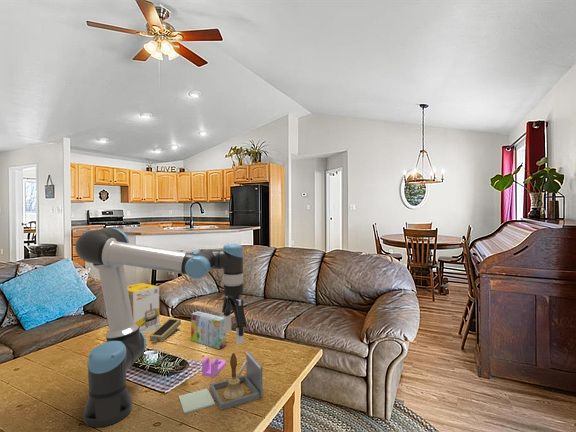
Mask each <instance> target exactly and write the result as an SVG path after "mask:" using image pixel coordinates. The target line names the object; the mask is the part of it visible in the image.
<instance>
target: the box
mask: <svg viewBox="0 0 576 432" xmlns="http://www.w3.org/2000/svg"><path fill="white" fill-rule="evenodd" d="M181 322H182V320H181V319H179V318H178V319H177V318H170V317H169V318H168V319H167V320H165V321H164V322H163V323H162V324H161V325H159V326H160V327H159V328H157V329H155V330H153V331H152V333H150V334H149V336H148V337H149V340H150V341H151V345H156V344H157V343H159V342H160V343H163V342H164V341H165V340H166V339H168V337H169V336H171V334H172V333H173V332H175V331H176V330H177V329H178V328H179V327H180V326H181V325H182V323H181Z"/></svg>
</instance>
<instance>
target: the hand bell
mask: <svg viewBox="0 0 576 432" xmlns="http://www.w3.org/2000/svg"><path fill="white" fill-rule="evenodd" d="M229 362H230V369H231V378H229V379H228V380H229V381H228V386H226V389H225V390H224V391H223V394H222V395H223V397H224V398H225V399H226V400H227V401H229V400H233V399H236V398H240V397H243V396H246V391H245V390H244V388H243V387H242V385H241V383H240V380H239V378H236V377H237V365H238V358H237V356H236V353H234V352H233V353H231V356H230V359H229Z"/></svg>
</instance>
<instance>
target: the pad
mask: <svg viewBox="0 0 576 432" xmlns="http://www.w3.org/2000/svg"><path fill="white" fill-rule="evenodd" d="M209 390H210V389H209V388H204V389H200V390H196V391H193V392H192V391H191V392H190V393H186V394H181V395H178V399H179V403H180V406H181V409H182V412H183V414H184V415H185V414H188V413H193V412H196V411H200V410H202V409H206V408H209V407H213V406H216V403H215V401H214V400H215V399H213V398H214V397H213V395H212V393H211V391H209Z"/></svg>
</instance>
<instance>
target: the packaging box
mask: <svg viewBox="0 0 576 432" xmlns="http://www.w3.org/2000/svg"><path fill="white" fill-rule="evenodd" d="M127 288H128V294H129V300H130V305H131V311H132V317H133V322H134V324H136V325H138V327H139V331H140V332H141V333H143V334H144V335H145V334H147V333H149V332H154V331H155V330H156V329H157V328H159V327H160V326H161V325H160V286H159V285H154V284H150V283H145V282H140V283H134V284H130V285H127Z"/></svg>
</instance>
